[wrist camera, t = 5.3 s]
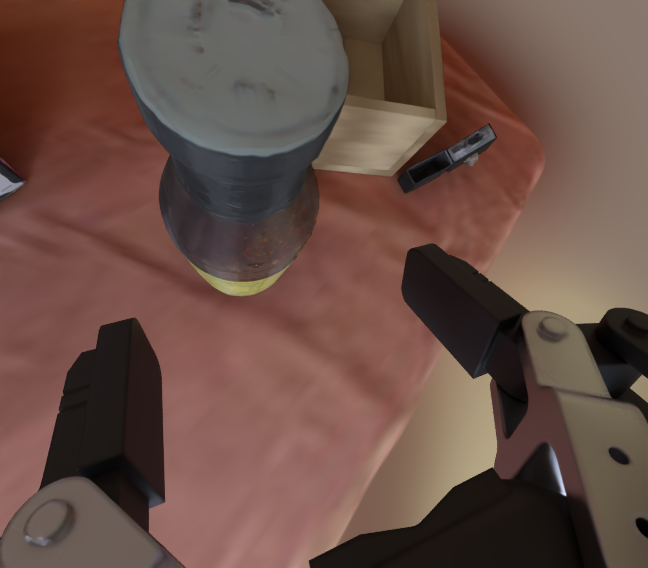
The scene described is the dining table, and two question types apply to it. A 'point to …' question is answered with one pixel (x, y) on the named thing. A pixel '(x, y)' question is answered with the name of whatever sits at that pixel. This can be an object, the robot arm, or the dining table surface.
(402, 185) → the lighter
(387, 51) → the caddy
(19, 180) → the candy bar box
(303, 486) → the dining table surface
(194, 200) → the sauce bottle
